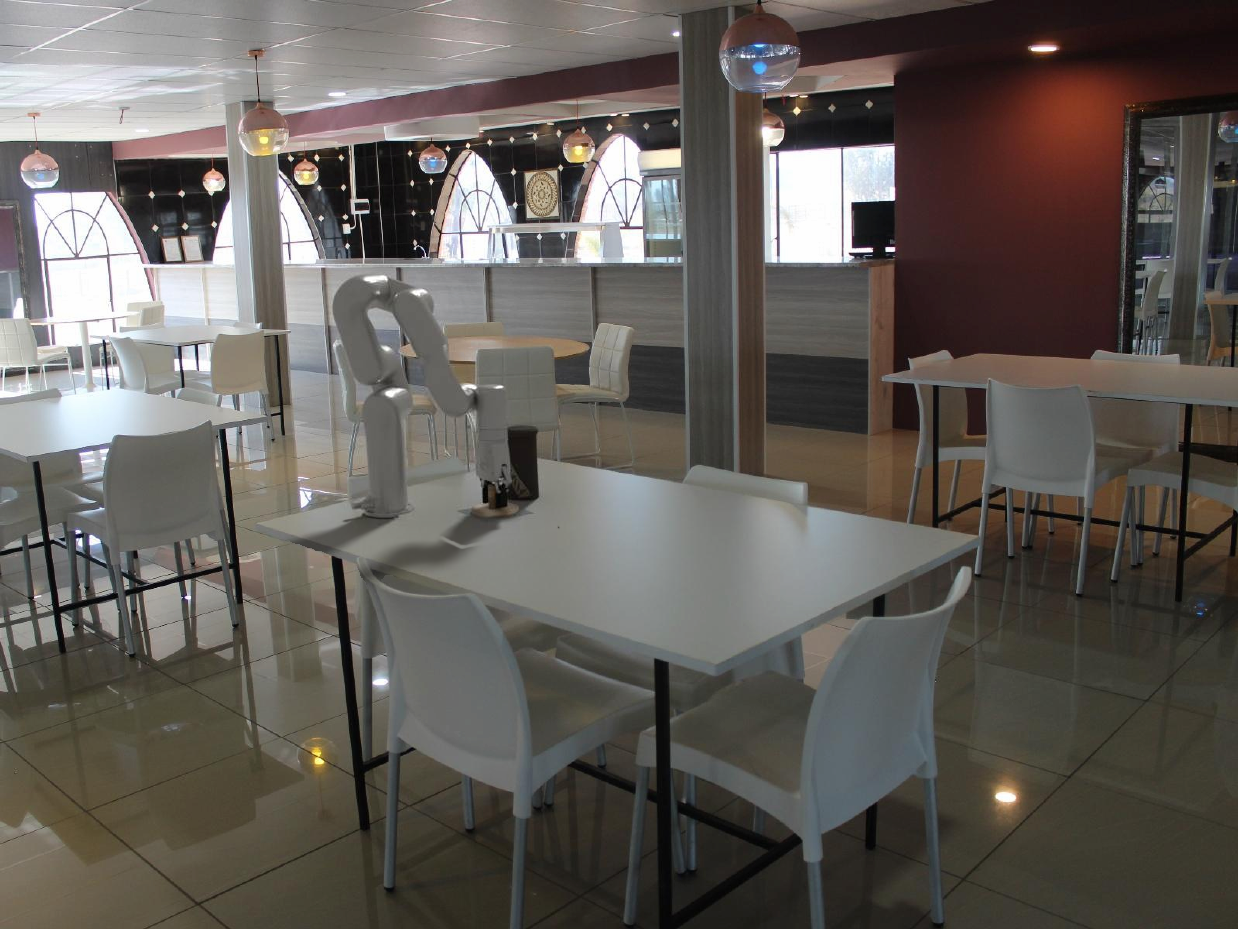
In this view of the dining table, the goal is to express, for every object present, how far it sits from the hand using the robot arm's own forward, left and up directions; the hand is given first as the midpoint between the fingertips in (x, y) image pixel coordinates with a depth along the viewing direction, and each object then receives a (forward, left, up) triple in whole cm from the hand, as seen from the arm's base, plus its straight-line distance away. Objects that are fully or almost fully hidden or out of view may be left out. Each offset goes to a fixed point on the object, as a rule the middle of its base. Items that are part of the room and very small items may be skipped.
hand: (494, 504), depth 278 cm
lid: (0, 0, -2) cm, 2 cm away
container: (+14, +9, -3) cm, 17 cm away
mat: (0, 0, -3) cm, 3 cm away
